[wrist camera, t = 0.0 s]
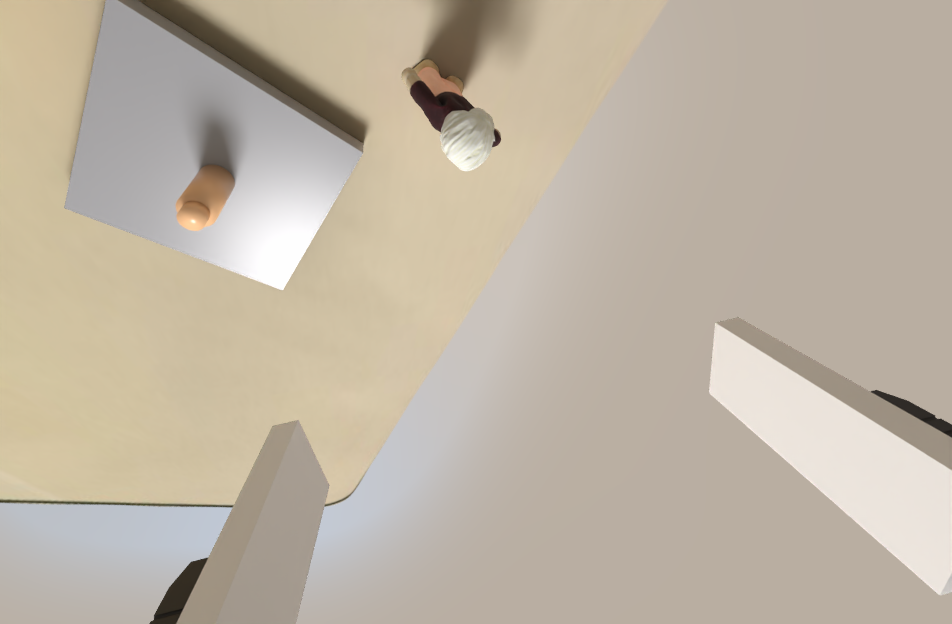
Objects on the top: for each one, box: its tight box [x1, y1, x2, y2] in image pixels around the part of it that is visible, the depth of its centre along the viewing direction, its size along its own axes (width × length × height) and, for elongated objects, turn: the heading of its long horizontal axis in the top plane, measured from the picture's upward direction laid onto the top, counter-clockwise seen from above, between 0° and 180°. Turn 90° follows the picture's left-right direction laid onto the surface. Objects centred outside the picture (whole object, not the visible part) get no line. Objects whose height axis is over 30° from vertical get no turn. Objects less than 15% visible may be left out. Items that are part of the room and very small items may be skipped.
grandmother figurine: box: [402, 59, 501, 171], centre depth 27 cm, size 8×4×13 cm, turn 67°
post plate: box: [64, 0, 363, 290], centre depth 29 cm, size 16×16×8 cm
